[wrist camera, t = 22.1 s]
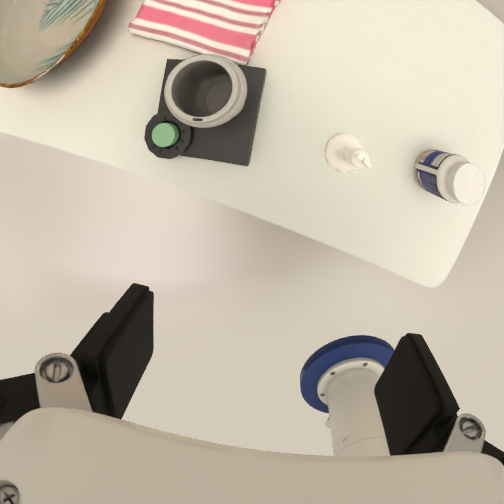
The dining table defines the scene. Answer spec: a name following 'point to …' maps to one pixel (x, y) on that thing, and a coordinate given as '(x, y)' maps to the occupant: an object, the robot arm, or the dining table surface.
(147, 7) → the dish towel
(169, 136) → the button
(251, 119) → the scale
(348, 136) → the chess piece
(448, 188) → the pill bottle
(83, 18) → the bowl
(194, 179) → the dining table surface
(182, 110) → the cup
